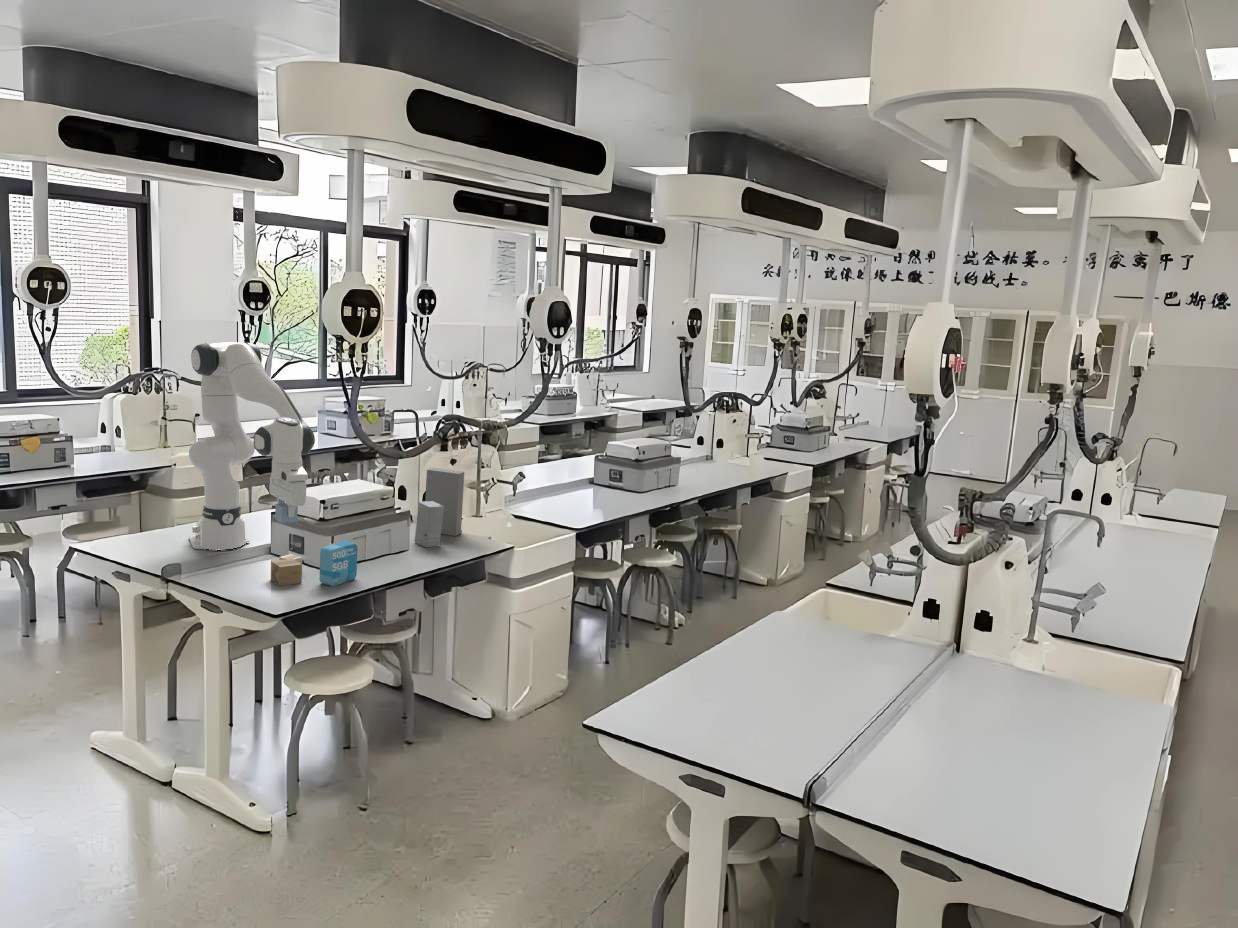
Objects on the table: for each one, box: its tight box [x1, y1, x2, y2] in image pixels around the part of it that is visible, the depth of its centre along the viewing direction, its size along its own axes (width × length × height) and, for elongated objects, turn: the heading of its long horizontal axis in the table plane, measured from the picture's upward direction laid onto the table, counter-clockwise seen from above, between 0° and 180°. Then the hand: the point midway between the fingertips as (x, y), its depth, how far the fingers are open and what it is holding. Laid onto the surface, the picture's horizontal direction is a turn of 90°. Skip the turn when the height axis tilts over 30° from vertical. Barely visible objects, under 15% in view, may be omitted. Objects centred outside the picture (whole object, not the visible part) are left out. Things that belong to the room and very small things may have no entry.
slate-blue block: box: [274, 502, 299, 524], centre depth 284 cm, size 5×5×5 cm
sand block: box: [278, 553, 303, 565], centre depth 298 cm, size 5×5×5 cm
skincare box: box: [414, 500, 444, 548], centre depth 343 cm, size 8×7×16 cm
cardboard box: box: [270, 559, 303, 587], centre depth 288 cm, size 7×7×6 cm
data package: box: [318, 541, 358, 587], centre depth 291 cm, size 12×4×12 cm, turn 153°
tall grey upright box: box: [424, 467, 465, 537], centre depth 361 cm, size 14×6×25 cm, turn 77°
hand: (286, 514), depth 284 cm, fingers closed on slate-blue block, 5 cm apart
